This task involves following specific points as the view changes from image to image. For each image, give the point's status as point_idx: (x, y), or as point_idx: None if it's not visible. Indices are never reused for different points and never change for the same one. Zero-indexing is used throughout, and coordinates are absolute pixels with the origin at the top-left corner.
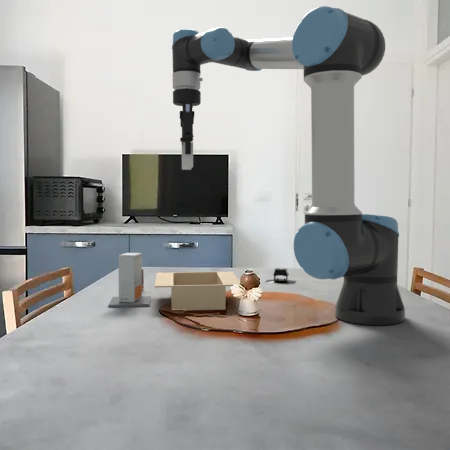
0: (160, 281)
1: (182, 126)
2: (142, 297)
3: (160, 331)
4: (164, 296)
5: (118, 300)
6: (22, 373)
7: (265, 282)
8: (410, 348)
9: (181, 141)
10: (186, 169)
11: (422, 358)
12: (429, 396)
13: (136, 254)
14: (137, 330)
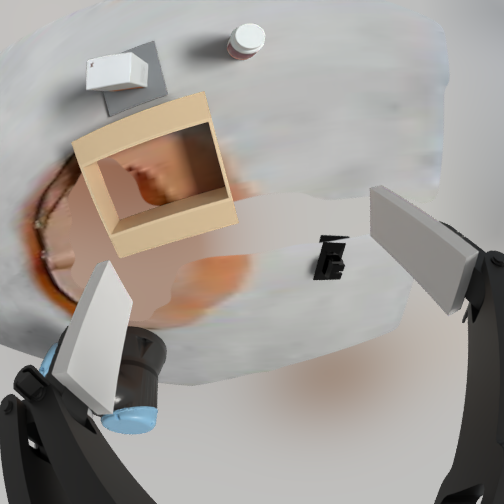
0: (109, 132)
1: (491, 459)
2: (154, 85)
3: (18, 185)
4: None
5: None
6: None
7: (323, 243)
8: None
9: (32, 371)
10: (370, 212)
11: None
12: (11, 345)
13: (103, 85)
14: (14, 161)
